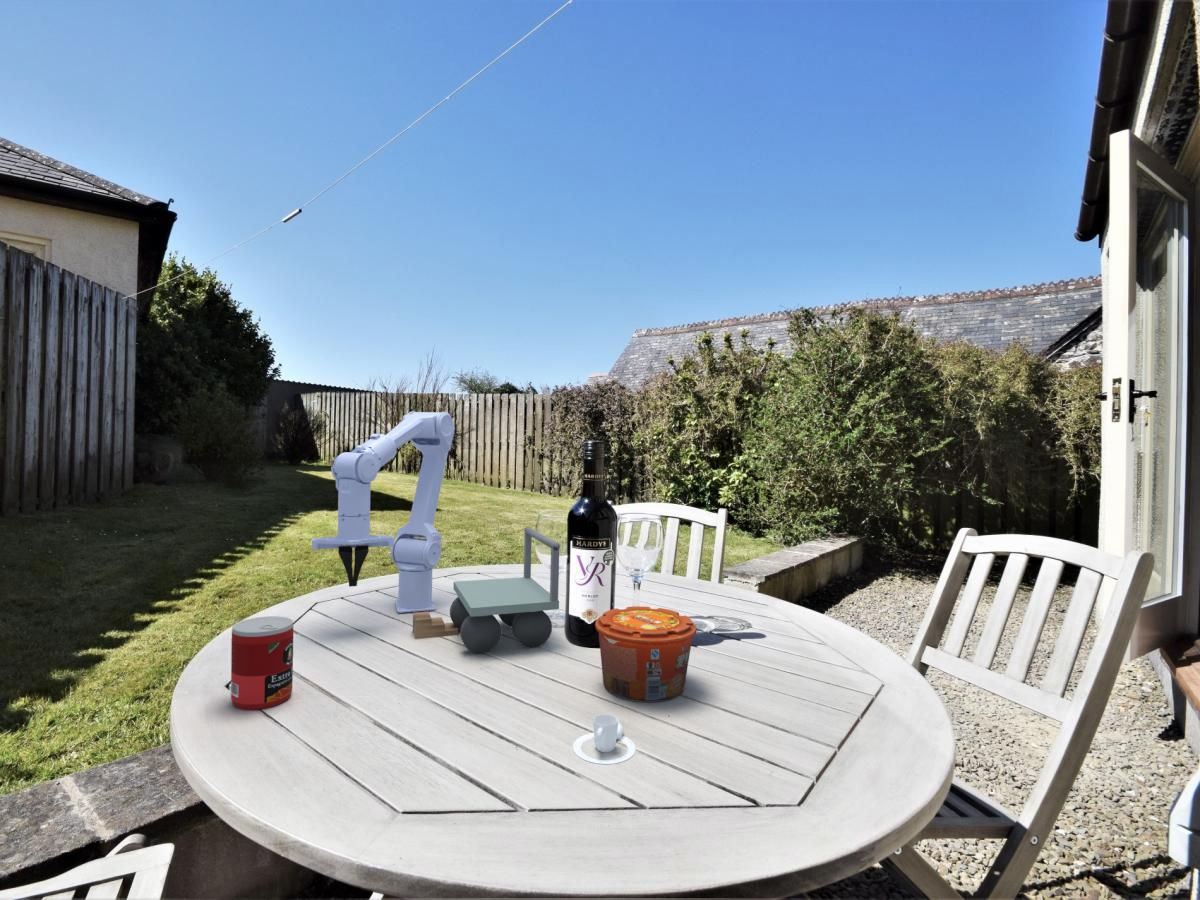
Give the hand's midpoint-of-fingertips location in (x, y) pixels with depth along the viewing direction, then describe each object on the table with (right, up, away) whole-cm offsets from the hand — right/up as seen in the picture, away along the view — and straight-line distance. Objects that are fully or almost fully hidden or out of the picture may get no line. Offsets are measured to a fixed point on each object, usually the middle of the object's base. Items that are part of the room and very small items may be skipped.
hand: (352, 585), depth 118 cm
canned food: (-1, -10, -29) cm, 31 cm away
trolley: (+28, -10, 0) cm, 30 cm away
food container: (+55, -12, -21) cm, 60 cm away
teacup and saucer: (+51, -12, -40) cm, 66 cm away
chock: (+15, -10, +2) cm, 18 cm away
